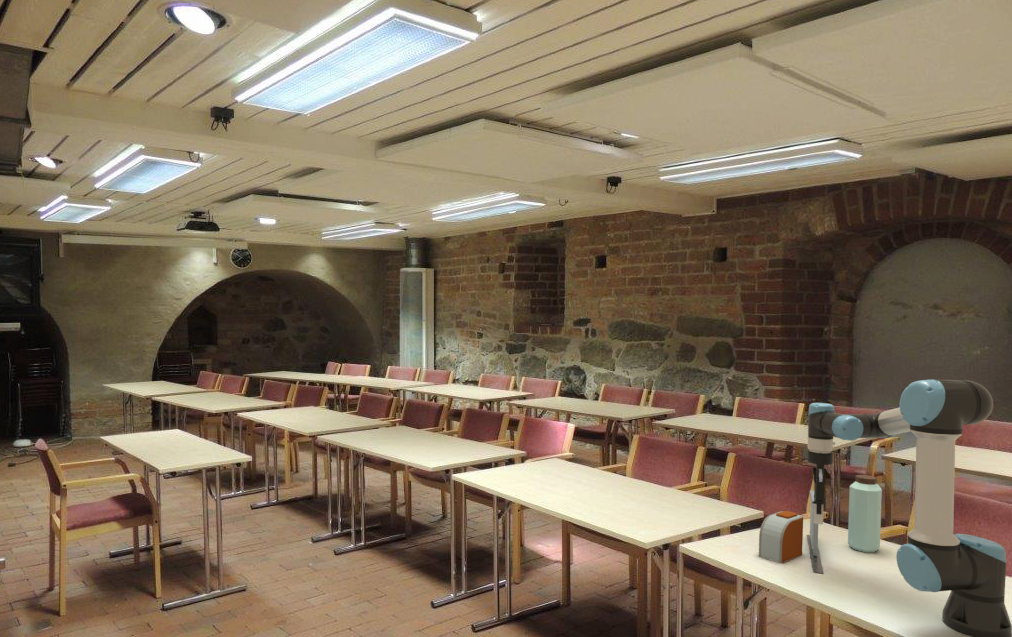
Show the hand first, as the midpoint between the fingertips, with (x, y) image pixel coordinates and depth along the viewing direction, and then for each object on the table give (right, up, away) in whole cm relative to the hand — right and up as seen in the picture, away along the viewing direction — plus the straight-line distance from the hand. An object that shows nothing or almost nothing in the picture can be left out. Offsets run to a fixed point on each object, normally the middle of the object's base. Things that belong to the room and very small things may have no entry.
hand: (818, 523), depth 228 cm
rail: (+3, -13, +10) cm, 16 cm away
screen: (+5, -13, +15) cm, 21 cm away
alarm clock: (-9, -13, +7) cm, 17 cm away
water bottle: (+23, -14, +15) cm, 31 cm away
